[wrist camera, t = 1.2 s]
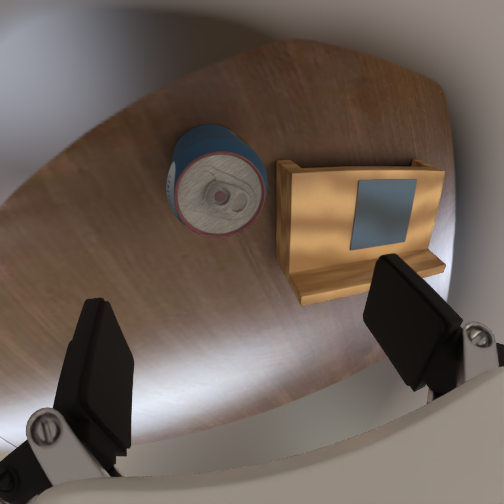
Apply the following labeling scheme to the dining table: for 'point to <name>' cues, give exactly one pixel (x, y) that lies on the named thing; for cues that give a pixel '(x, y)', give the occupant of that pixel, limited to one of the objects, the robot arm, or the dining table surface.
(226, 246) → the dining table surface
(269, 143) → the dining table surface
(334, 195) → the wooden block with lip
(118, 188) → the dining table surface
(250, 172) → the soda can
